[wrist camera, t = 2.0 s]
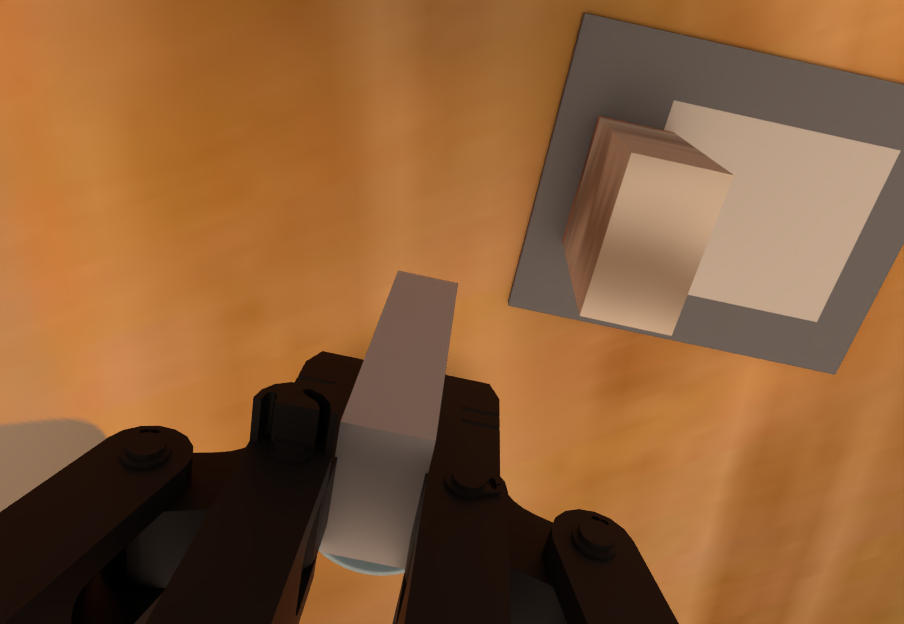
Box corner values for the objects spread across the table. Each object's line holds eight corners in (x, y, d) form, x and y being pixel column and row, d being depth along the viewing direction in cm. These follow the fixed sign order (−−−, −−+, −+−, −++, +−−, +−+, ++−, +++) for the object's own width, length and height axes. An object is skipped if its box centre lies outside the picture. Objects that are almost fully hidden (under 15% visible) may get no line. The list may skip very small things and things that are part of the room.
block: (598, 115, 34) (631, 152, 25) (673, 132, 34) (734, 175, 25) (561, 241, 37) (579, 316, 28) (631, 256, 37) (671, 336, 28)
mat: (583, 13, 33) (585, 13, 32) (969, 99, 33) (978, 101, 33) (508, 301, 39) (508, 305, 39) (830, 369, 40) (835, 375, 39)
